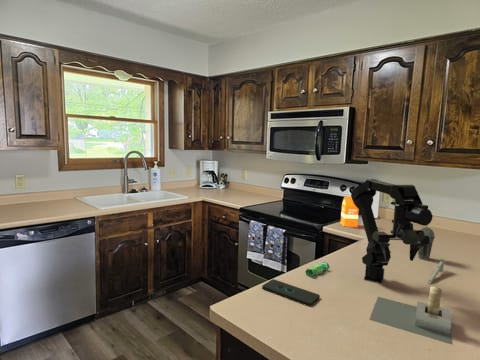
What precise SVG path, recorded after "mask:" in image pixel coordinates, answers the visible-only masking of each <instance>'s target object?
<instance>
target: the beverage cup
mask: <svg viewBox="0 0 480 360" xmlns="http://www.w3.org/2000/svg"><path fill="white" fill-rule="evenodd" d="M419 230H423V231H424V232H425V235H427V236H429V237H430V244H426V246H423V247H421V248H420V249H419V250H418V252H417V255H418V256H417V257H418V259H420V260H423V261H429V260H430V257H431V252H432V249H433V248H432V247H433V244H434V240H435V238H436V237H435V232H434V231H433V230H432V229H431V228H429V227H428V225H426V226H425V227H421V228H420V229H419Z"/></svg>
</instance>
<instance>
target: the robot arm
mask: <svg viewBox="0 0 480 360" xmlns="http://www.w3.org/2000/svg"><path fill="white" fill-rule="evenodd" d="M377 192H380V193H382V194H383V193H384V194H385V195H386V194H387V195H389V197H390V198H392V199H393V200H392V201H391V202H390V205H391V206H394V210H393V219H391V223H392V230H390V234H388V233H387V232H385V231H379V229H378V224H377V222H376V218H375V214H374V212H373V208H372V206H373V203H374V197H375V196H376V195H377ZM350 197H351V198H352V200H353V203H354V205H355V206H356V207H357V208H358V209H359V210H358V211H359V213H360V216H361V220H362V224H363V228H364V231H365V235H366V239H367V246H366V254H365V255H363V256H362V258H361V261H362V264H363V265H365V271H364V272H365V273H364V277H363V279H364V280H367V281H370V282H376V283H379V284H380V283H382V282H383V281H384V279H385V268H384V266H388V265H389V262H390V260H391V256H392V255H391V253H392V252H391V250H390V246H391V243H390V241H391V240H392V241H402V243H403V244H404V245H406V246H407V245H409V261H411V262H413V261H414V259H415V258H416V255H418V250H419V249H420V248H421V247H423V246H426V244H430V237H429V236H427V235H425V232H424V231H423V230H420V229H414V224H417V225H420V226H425V227H426V225H427V226H428V225H430V224H431V222H432V221H433V217H434V216H433V214H432V211H431V209H429V205H427V204H423V201H422V199H421V198H420V195H419V193H418V190H417V188H416V186H415V185H414V184H395V183H394V184H393V183H390V182H385V181H382V180H379V179H369V178H367V179H366V180H364V181H363V183H361V184H360V185H358V186H356V187H355V188H354V189H353V191H351V194H350Z"/></svg>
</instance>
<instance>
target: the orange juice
mask: <svg viewBox="0 0 480 360" xmlns="http://www.w3.org/2000/svg"><path fill="white" fill-rule="evenodd" d="M359 211H360V210H359V209H358V208H357V207H356V206H355V205H354V203H353V200H352V198H351V196H344V197H343V199H342V203H341V212H340V225H341V224H342V225H343V226H354V227H357V228H358V220H359ZM342 225H341V226H342ZM343 226H342V227H343Z"/></svg>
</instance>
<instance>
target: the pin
mask: <svg viewBox="0 0 480 360" xmlns="http://www.w3.org/2000/svg"><path fill="white" fill-rule="evenodd" d="M441 298H442V288H440V287H439V286H430V287H429V295H428V303H427V304H428V312H427V313H429V314H433V315H436V316H439V308H440V307H441Z"/></svg>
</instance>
